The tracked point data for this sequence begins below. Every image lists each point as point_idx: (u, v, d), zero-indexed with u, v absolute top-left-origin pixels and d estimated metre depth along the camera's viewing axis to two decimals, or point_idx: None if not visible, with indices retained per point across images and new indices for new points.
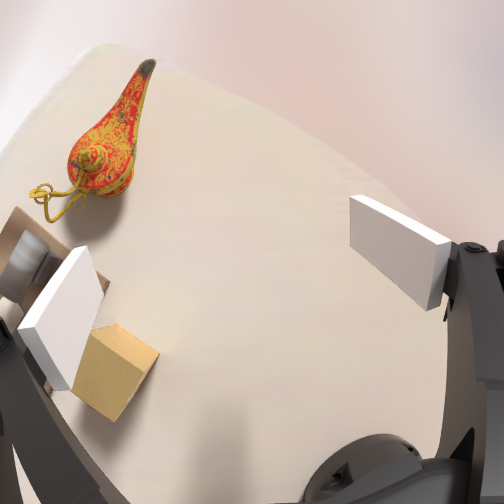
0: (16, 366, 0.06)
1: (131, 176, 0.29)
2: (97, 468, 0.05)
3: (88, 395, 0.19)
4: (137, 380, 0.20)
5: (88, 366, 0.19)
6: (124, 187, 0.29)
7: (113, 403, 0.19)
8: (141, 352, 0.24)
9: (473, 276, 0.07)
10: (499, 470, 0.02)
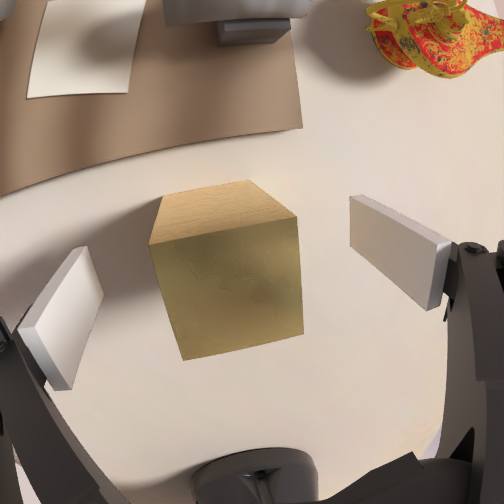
0: (16, 366, 0.06)
1: (415, 66, 0.17)
2: (97, 468, 0.05)
3: (184, 302, 0.11)
4: (283, 336, 0.12)
5: (237, 265, 0.11)
6: (402, 65, 0.16)
7: (214, 340, 0.12)
8: None
9: (473, 276, 0.07)
10: (499, 470, 0.02)
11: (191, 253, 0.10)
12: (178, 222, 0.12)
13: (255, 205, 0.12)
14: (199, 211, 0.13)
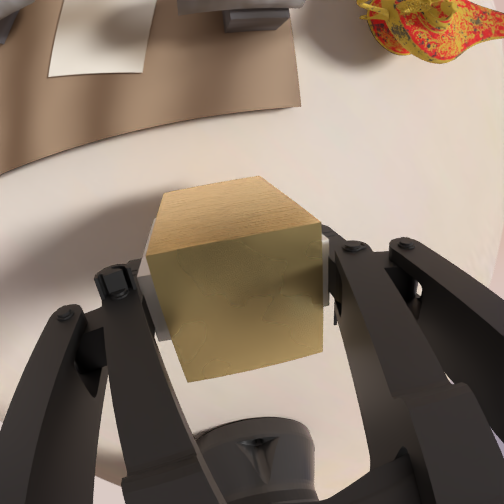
0: (134, 316, 0.08)
1: (409, 52, 0.17)
2: (190, 431, 0.06)
3: (188, 320, 0.09)
4: (300, 355, 0.11)
5: (251, 278, 0.09)
6: (396, 51, 0.17)
7: (222, 361, 0.10)
8: None
9: (358, 278, 0.08)
10: (499, 470, 0.02)
11: (197, 265, 0.09)
12: (180, 226, 0.10)
13: (270, 206, 0.11)
14: (205, 213, 0.11)
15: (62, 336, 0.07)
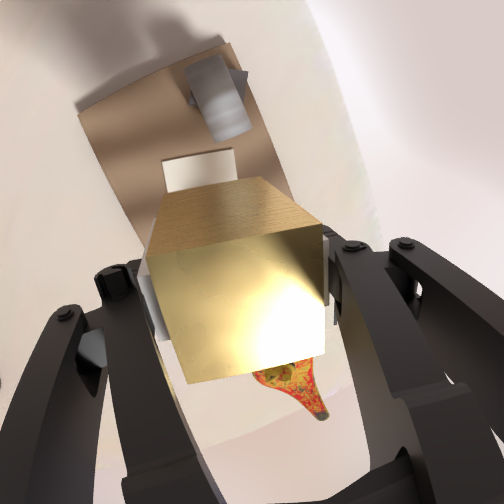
0: (135, 315, 0.08)
1: None
2: (190, 431, 0.06)
3: (189, 322, 0.09)
4: (301, 357, 0.11)
5: (252, 280, 0.09)
6: None
7: (223, 363, 0.10)
8: None
9: (358, 278, 0.08)
10: (499, 470, 0.02)
11: (197, 266, 0.09)
12: (180, 227, 0.10)
13: (270, 207, 0.11)
14: (205, 214, 0.11)
15: (62, 336, 0.07)
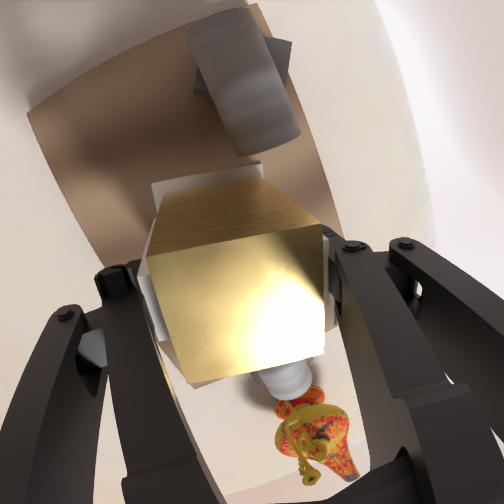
0: (134, 316, 0.08)
1: (281, 418, 0.27)
2: (190, 431, 0.06)
3: (189, 322, 0.09)
4: (301, 356, 0.11)
5: (252, 280, 0.09)
6: (276, 412, 0.27)
7: (223, 363, 0.10)
8: None
9: (358, 278, 0.08)
10: (499, 470, 0.02)
11: (197, 266, 0.09)
12: (180, 227, 0.10)
13: (270, 207, 0.11)
14: (205, 214, 0.11)
15: (62, 336, 0.07)
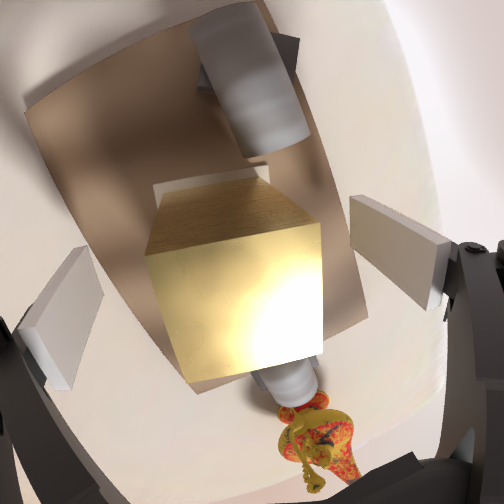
0: (16, 366, 0.06)
1: (285, 422, 0.27)
2: (97, 468, 0.05)
3: (187, 321, 0.09)
4: (299, 356, 0.11)
5: (250, 279, 0.09)
6: (280, 417, 0.26)
7: (221, 362, 0.10)
8: None
9: (473, 276, 0.07)
10: (499, 470, 0.02)
11: (195, 266, 0.09)
12: (179, 226, 0.10)
13: (269, 207, 0.11)
14: (204, 213, 0.11)
15: None
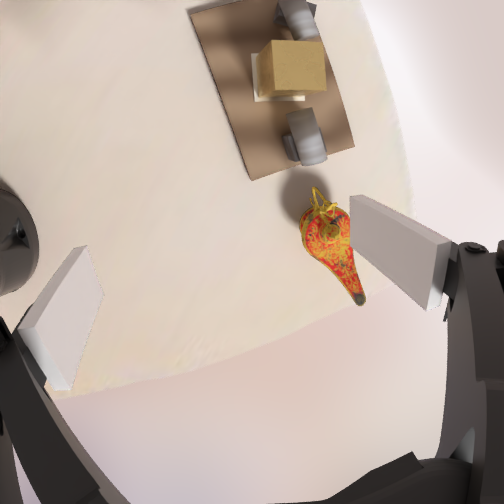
0: (16, 366, 0.06)
1: None
2: (97, 468, 0.05)
3: (280, 62, 0.24)
4: (318, 89, 0.26)
5: (301, 53, 0.24)
6: (301, 228, 0.41)
7: (289, 82, 0.25)
8: None
9: (473, 276, 0.07)
10: (499, 470, 0.02)
11: (286, 45, 0.24)
12: None
13: None
14: None
15: None
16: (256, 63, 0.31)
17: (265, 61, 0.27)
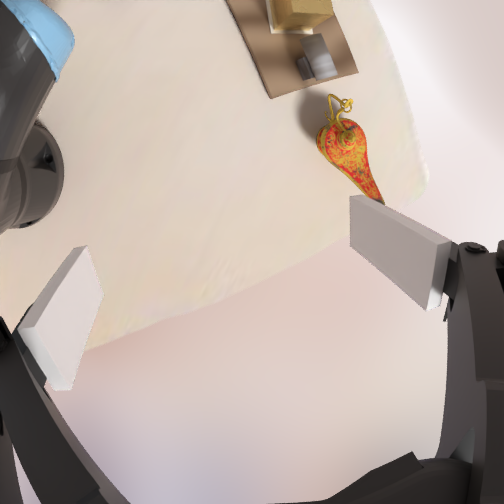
0: (16, 366, 0.06)
1: (321, 152, 0.43)
2: (97, 468, 0.05)
3: None
4: (327, 13, 0.27)
5: None
6: (318, 143, 0.42)
7: (304, 7, 0.26)
8: None
9: (473, 276, 0.07)
10: (499, 470, 0.02)
11: None
12: None
13: None
14: None
15: None
16: (270, 4, 0.32)
17: None
